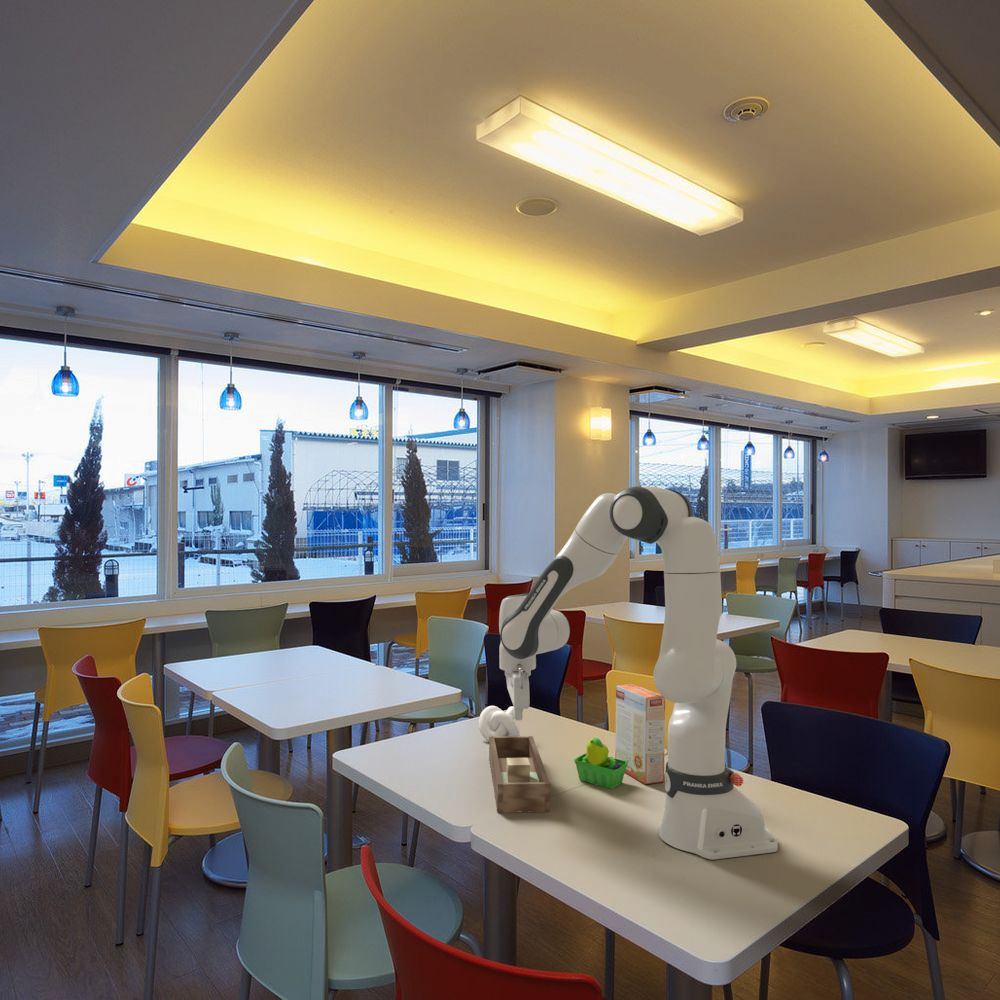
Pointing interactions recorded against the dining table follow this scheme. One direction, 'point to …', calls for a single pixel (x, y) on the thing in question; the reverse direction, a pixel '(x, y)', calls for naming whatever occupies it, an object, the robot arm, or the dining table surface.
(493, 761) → the trap lane
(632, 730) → the cracker box
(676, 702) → the robot arm
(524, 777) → the maple block
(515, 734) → the white rounded piece
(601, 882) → the dining table surface
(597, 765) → the fruit basket
